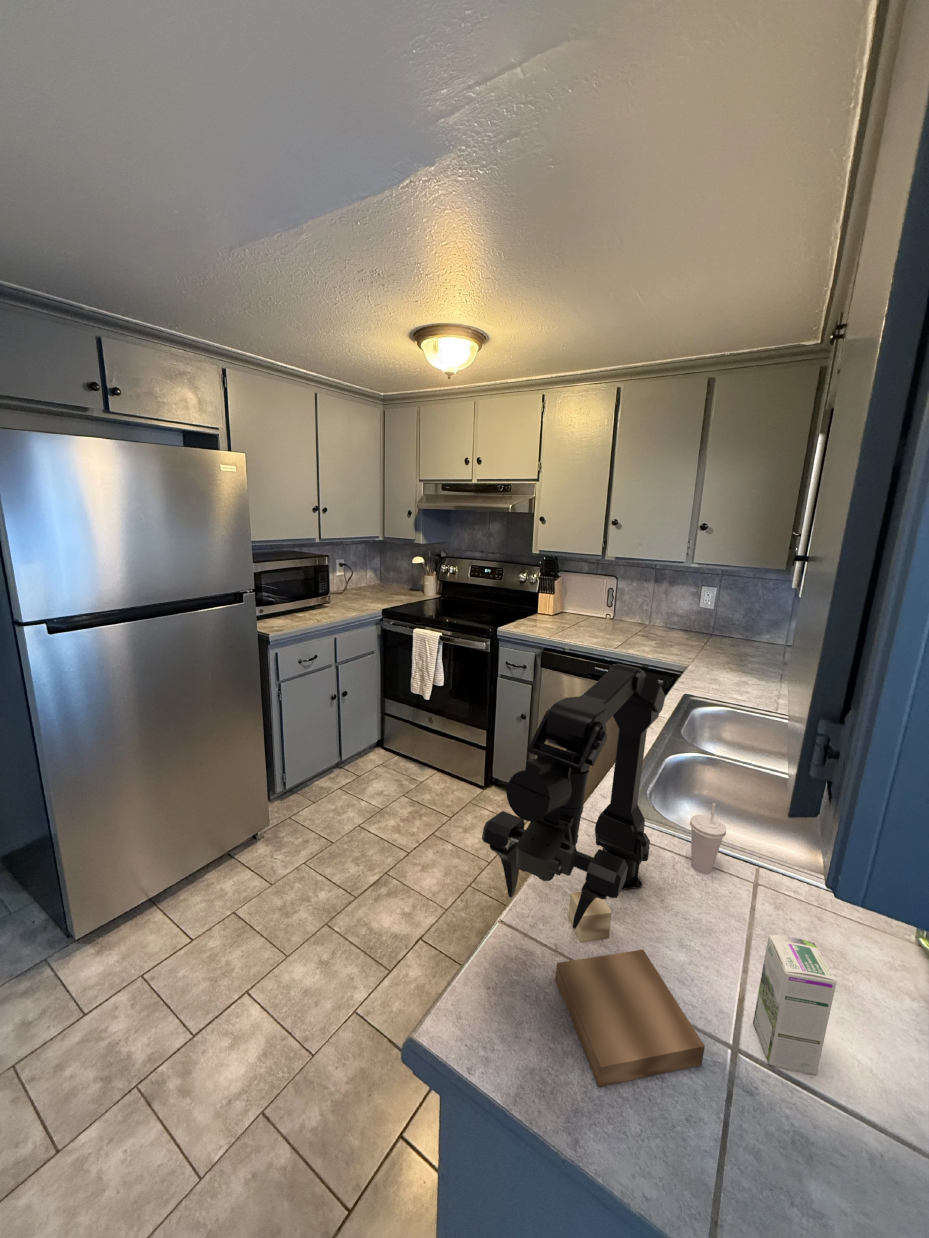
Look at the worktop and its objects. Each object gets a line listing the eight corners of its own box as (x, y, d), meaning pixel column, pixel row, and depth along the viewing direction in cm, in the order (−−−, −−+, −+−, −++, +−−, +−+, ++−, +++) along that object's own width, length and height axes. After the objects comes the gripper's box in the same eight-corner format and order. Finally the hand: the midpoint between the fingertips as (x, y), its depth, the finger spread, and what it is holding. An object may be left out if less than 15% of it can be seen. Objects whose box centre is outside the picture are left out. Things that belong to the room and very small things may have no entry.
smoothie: (725, 879, 93) (736, 814, 91) (692, 878, 94) (702, 813, 91) (709, 856, 100) (719, 795, 97) (678, 855, 100) (687, 793, 97)
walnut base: (641, 965, 75) (643, 949, 74) (701, 1064, 61) (704, 1045, 61) (555, 979, 72) (556, 962, 71) (598, 1086, 58) (601, 1067, 58)
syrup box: (818, 1077, 60) (841, 981, 57) (766, 1065, 61) (786, 970, 58) (797, 1031, 66) (817, 940, 63) (750, 1020, 67) (767, 931, 64)
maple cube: (594, 914, 84) (597, 889, 83) (608, 938, 79) (611, 912, 78) (567, 918, 83) (570, 892, 82) (580, 942, 78) (583, 916, 77)
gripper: (472, 792, 62) (453, 908, 63) (619, 849, 53) (594, 984, 54) (508, 771, 72) (491, 872, 73) (637, 816, 63) (616, 931, 64)
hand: (542, 910), depth 66 cm, fingers open, 9 cm apart
